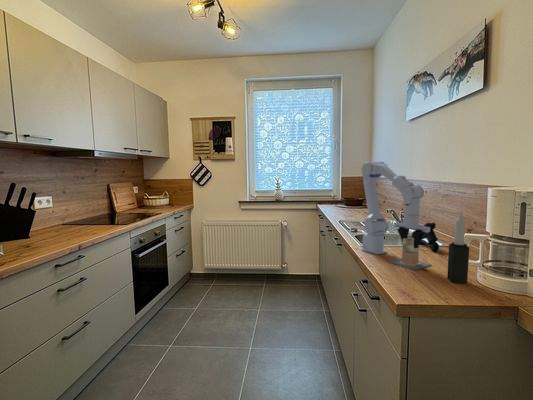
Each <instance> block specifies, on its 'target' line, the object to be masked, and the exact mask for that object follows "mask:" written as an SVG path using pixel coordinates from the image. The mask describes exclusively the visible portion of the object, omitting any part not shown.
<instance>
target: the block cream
mask: <svg viewBox="0 0 533 400" xmlns="http://www.w3.org/2000/svg"><path fill="white" fill-rule="evenodd" d="M402 251H407V252H411V253H414V252H417V251H418V252H420V246H419V247H418V248H414V238H412V237H408V238H404V239H403V244H402Z"/></svg>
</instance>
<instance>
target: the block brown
mask: <svg viewBox="0 0 533 400" xmlns="http://www.w3.org/2000/svg"><path fill="white" fill-rule="evenodd" d="M401 252H402V253H401V258H402V263H406V264H409V265H414V264H418V261H419V254H420V251H417V252H414V253H411V252H407V251H403V250H402V251H401Z"/></svg>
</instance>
